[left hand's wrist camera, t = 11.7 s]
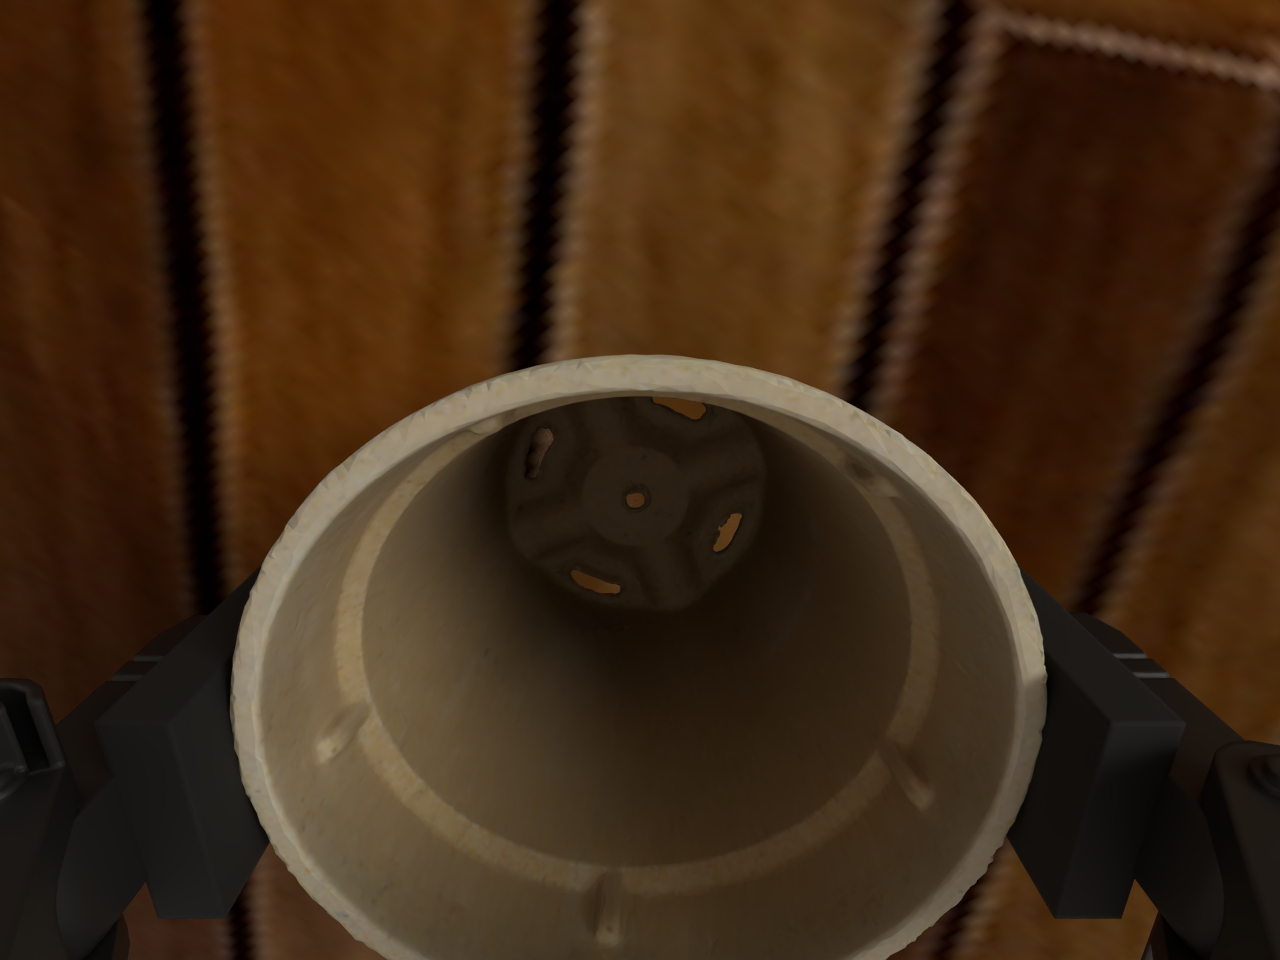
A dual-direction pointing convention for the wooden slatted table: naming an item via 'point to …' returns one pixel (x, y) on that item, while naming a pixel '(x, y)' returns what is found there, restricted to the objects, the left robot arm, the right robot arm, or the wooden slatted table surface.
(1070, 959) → the wooden slatted table surface
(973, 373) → the wooden slatted table surface
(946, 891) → the plastic plant pot
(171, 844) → the left robot arm
